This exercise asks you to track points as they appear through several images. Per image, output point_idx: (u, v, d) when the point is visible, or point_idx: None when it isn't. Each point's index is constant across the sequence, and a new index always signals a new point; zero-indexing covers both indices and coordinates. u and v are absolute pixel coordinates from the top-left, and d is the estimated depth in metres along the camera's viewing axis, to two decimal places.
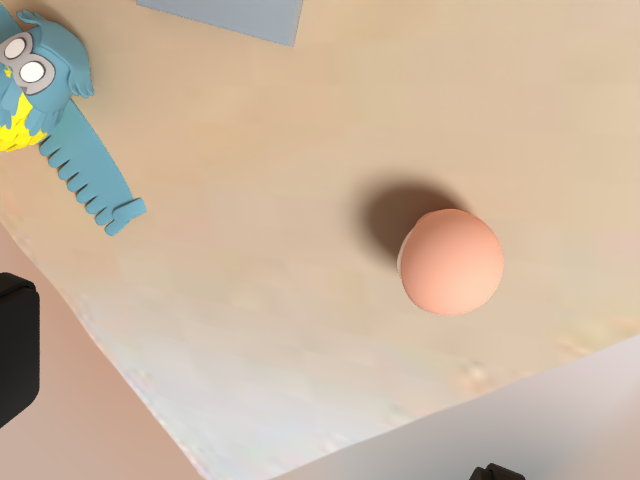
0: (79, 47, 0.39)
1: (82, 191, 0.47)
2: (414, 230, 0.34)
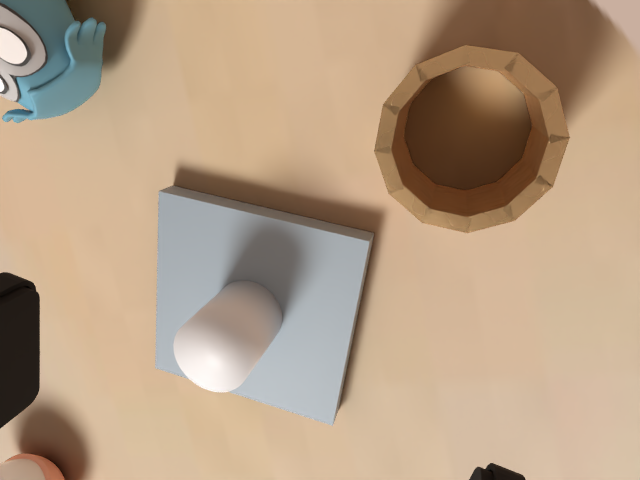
0: (84, 96, 0.27)
1: None
2: None
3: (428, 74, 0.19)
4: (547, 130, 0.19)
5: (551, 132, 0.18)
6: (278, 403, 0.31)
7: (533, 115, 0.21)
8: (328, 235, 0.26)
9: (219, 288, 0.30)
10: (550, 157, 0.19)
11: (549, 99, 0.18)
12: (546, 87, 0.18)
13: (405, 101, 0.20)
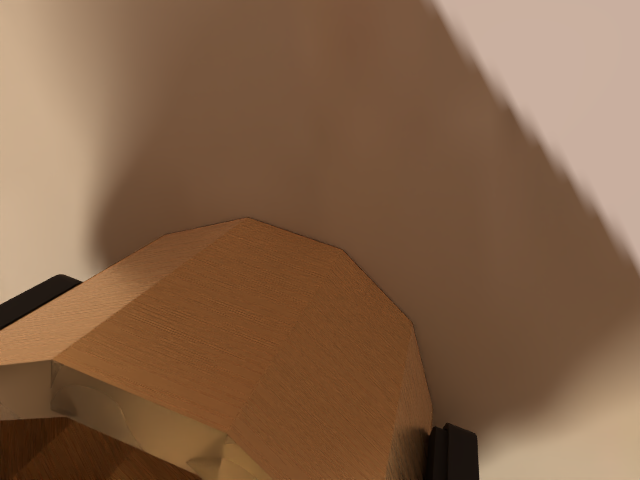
0: None
1: None
2: None
3: None
4: None
5: None
6: None
7: None
8: None
9: None
10: None
11: None
12: None
13: None
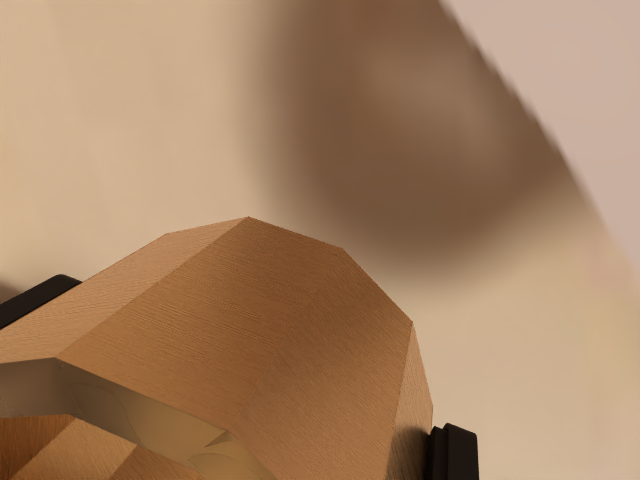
0: None
1: None
2: None
3: None
4: None
5: None
6: None
7: None
8: None
9: None
10: None
11: None
12: None
13: None
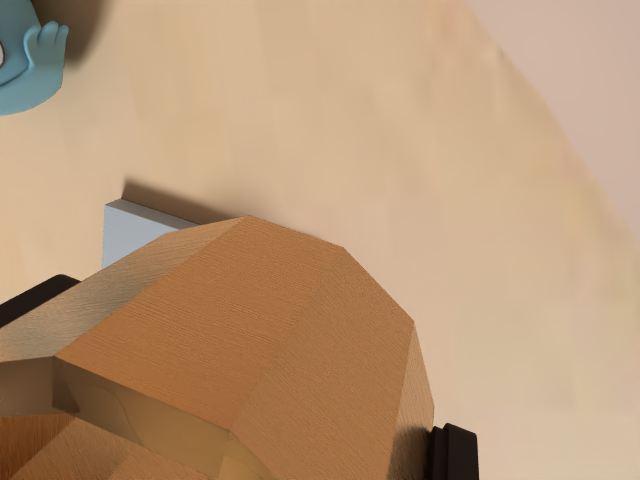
0: (44, 95, 0.27)
1: None
2: None
3: None
4: None
5: None
6: None
7: None
8: None
9: None
10: None
11: None
12: None
13: None
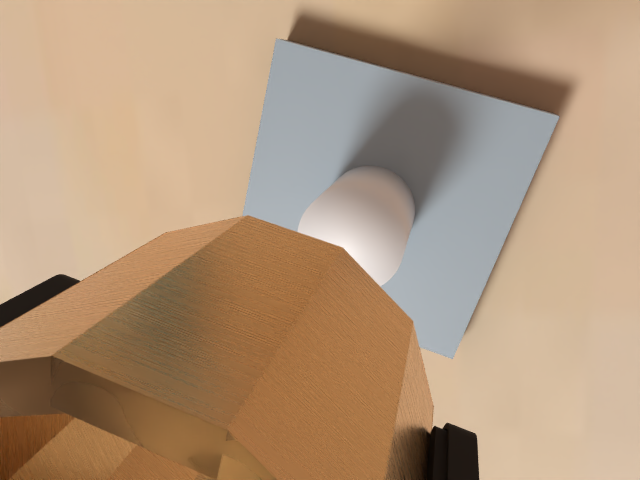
0: None
1: None
2: None
3: None
4: None
5: None
6: None
7: None
8: (503, 106, 0.20)
9: (336, 174, 0.23)
10: None
11: None
12: None
13: None
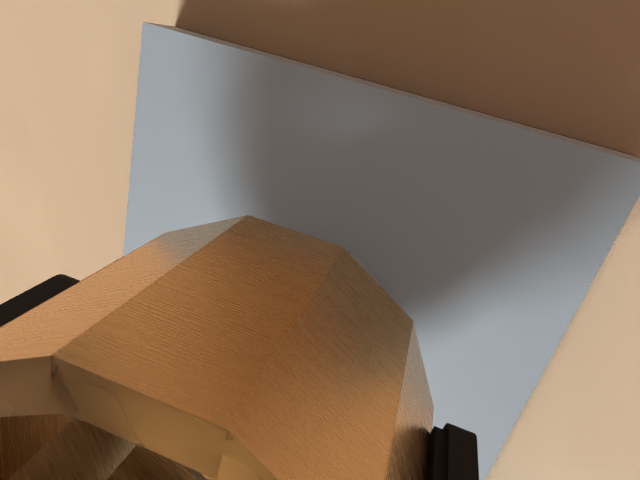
0: None
1: None
2: None
3: None
4: None
5: None
6: None
7: None
8: (545, 146, 0.11)
9: None
10: None
11: None
12: None
13: None
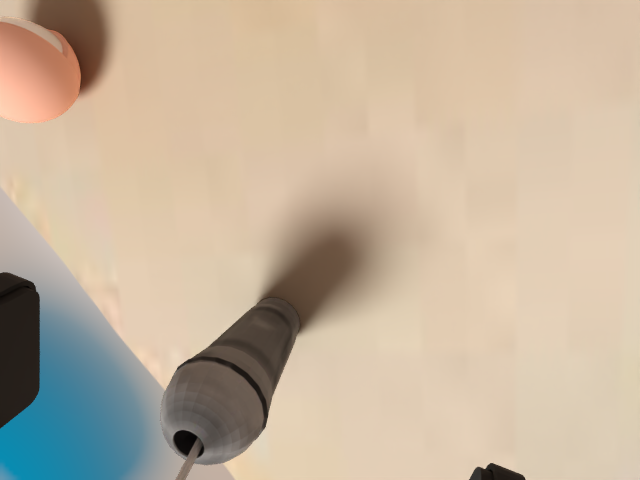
0: None
1: None
2: (30, 32, 0.33)
3: None
4: None
5: None
6: None
7: None
8: None
9: None
10: None
11: None
12: None
13: None
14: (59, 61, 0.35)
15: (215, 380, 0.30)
